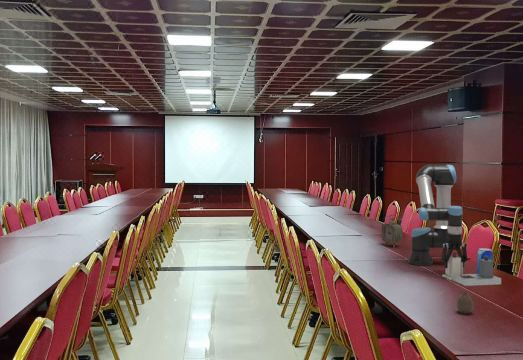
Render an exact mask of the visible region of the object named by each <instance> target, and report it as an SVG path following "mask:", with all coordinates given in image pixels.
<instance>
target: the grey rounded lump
mask: <svg viewBox="0 0 523 360" xmlns="http://www.w3.org/2000/svg"><path fill="white" fill-rule="evenodd" d="M456 309H457V311H458V312H459V313H461V314H465V315H466V314H467V315H468V314H471V313H472V311H473V309H474V301H473V299H472V298H471V296H470V295H469V293H468V292H464V291H463V292H461V294H460V295H459V296H458V298H457V299H456Z"/></svg>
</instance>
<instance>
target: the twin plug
mask: <svg viewBox="0 0 523 360" xmlns="http://www.w3.org/2000/svg"><path fill="white" fill-rule="evenodd" d="M479 276H481V277H483V278H490V277H493V276H494V261H492V260H488V256H484V259H479Z"/></svg>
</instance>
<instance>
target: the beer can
mask: <svg viewBox="0 0 523 360" xmlns="http://www.w3.org/2000/svg"><path fill="white" fill-rule="evenodd" d="M484 256H488V260H492V261H493V260H494V253H493V251H492V249H491V248H487V247H486V248H485V247H484V248H481V247H480V248H478V250H477V252H476V274H479V259H484ZM493 262H494V261H493Z"/></svg>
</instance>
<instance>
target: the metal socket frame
mask: <svg viewBox="0 0 523 360" xmlns="http://www.w3.org/2000/svg"><path fill="white" fill-rule="evenodd" d="M452 281H453V282H455V283H458V284H460V285H463V286H464V287H471V286H472V287H473V286H474V287H475V286H494V285H502V277H498V276H497V275H493V277H490V278H483V277H481V276H479V274H477V273H465V274H464V273H463V274H459V275H453V280H452Z"/></svg>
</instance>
